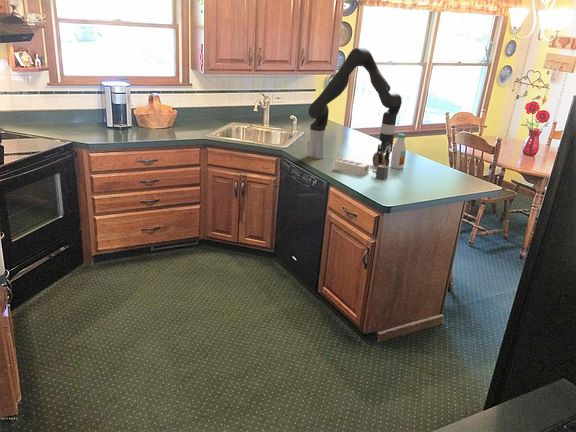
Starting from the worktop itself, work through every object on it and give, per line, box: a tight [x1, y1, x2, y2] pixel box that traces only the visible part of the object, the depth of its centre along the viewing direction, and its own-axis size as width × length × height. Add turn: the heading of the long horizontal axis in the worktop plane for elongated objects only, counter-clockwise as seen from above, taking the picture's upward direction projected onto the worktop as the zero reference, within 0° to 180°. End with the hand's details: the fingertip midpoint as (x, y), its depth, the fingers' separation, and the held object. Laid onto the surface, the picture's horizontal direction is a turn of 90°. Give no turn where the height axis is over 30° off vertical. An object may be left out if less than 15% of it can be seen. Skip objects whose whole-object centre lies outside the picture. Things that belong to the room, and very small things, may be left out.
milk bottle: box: [389, 133, 407, 170], centre depth 292 cm, size 8×8×20 cm
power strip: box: [334, 157, 370, 177], centre depth 282 cm, size 18×7×6 cm, turn 55°
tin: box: [372, 152, 390, 168], centre depth 291 cm, size 15×3×8 cm, turn 21°
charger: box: [372, 165, 390, 180], centre depth 273 cm, size 8×4×6 cm, turn 55°
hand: (383, 161), depth 270 cm, fingers open, 8 cm apart
